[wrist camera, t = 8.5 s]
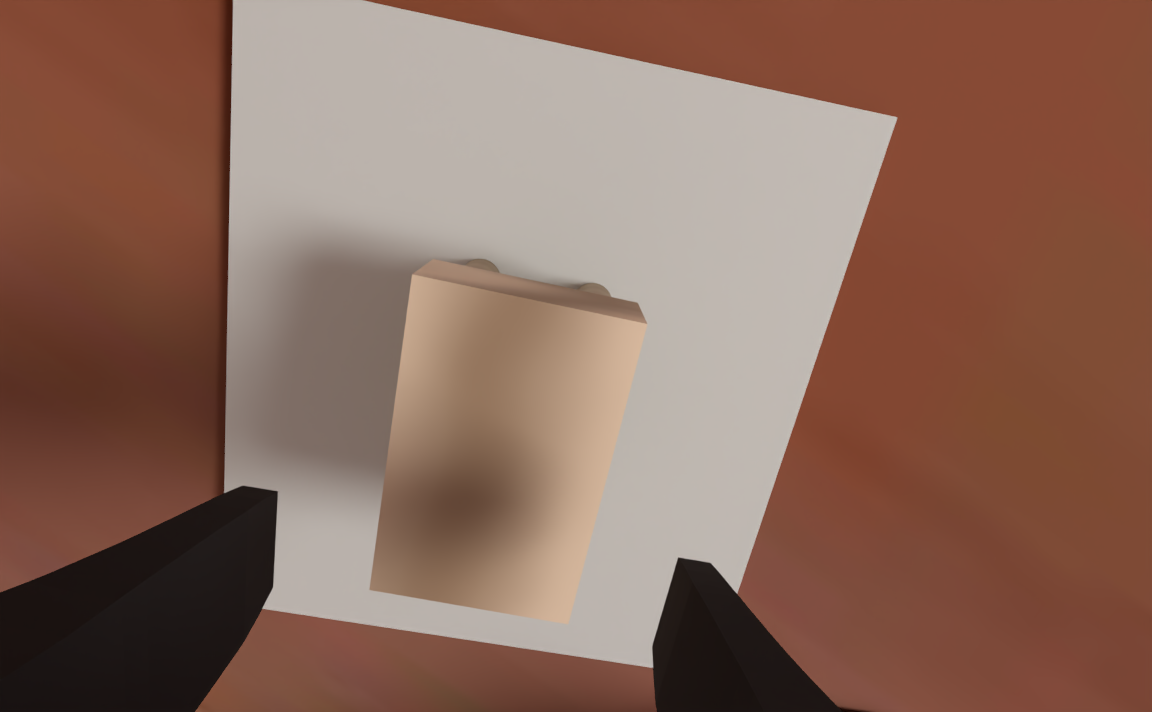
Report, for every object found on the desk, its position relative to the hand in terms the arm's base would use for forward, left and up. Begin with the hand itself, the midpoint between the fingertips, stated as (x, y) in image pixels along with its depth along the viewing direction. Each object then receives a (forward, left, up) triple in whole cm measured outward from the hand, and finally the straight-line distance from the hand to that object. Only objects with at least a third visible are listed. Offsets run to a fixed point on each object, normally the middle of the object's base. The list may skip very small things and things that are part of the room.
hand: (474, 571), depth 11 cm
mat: (0, 0, -9) cm, 9 cm away
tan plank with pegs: (0, 0, -9) cm, 9 cm away
